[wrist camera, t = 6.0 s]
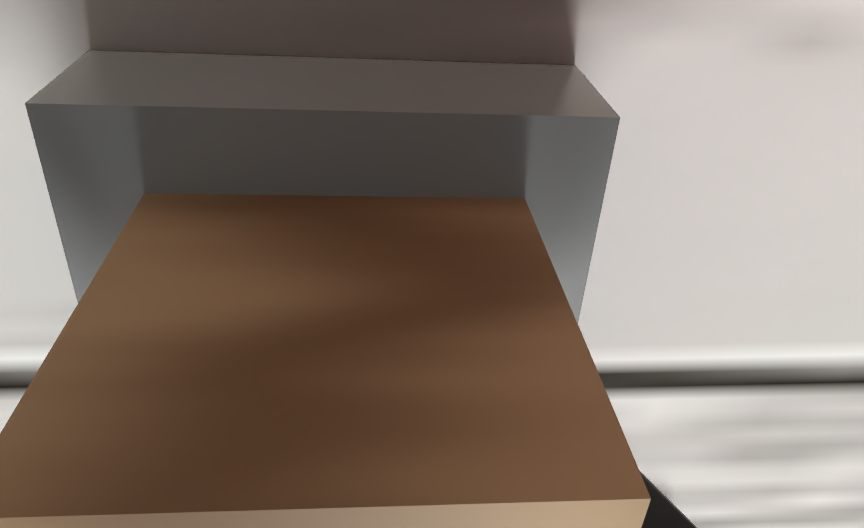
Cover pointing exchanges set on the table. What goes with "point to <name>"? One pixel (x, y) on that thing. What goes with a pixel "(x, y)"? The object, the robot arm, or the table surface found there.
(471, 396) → the tan block
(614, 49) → the table surface
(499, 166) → the grey box
